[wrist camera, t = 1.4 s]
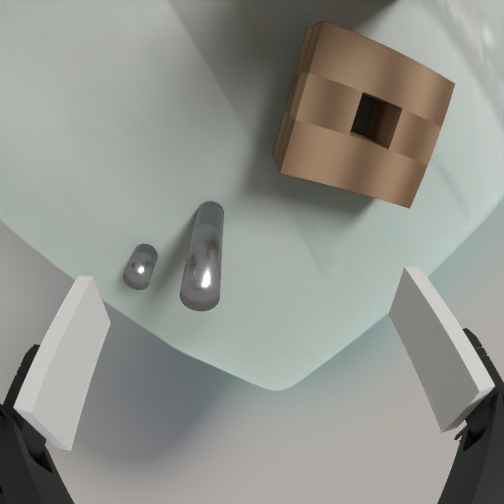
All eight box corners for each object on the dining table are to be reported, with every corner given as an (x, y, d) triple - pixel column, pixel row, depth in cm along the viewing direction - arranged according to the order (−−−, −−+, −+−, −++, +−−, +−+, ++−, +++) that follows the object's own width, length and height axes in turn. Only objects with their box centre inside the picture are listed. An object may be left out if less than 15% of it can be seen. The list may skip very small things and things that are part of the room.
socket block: (272, 155, 32) (280, 173, 26) (307, 29, 24) (323, 21, 19) (386, 186, 34) (409, 208, 29) (423, 78, 27) (454, 83, 22)
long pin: (195, 222, 35) (178, 307, 24) (199, 199, 34) (181, 277, 22) (221, 227, 36) (216, 313, 24) (226, 203, 34) (222, 284, 23)
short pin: (134, 262, 38) (124, 287, 34) (135, 242, 36) (123, 266, 32) (156, 266, 38) (148, 291, 34) (158, 246, 37) (149, 270, 33)
